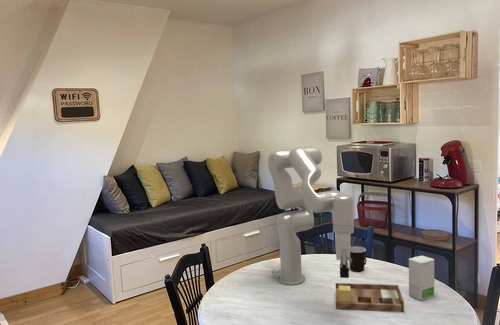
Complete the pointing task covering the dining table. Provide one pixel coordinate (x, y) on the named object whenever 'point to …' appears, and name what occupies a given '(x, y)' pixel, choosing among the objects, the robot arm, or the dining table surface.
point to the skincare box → (421, 277)
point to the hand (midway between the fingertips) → (344, 275)
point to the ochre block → (344, 293)
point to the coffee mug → (357, 259)
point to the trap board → (372, 297)
